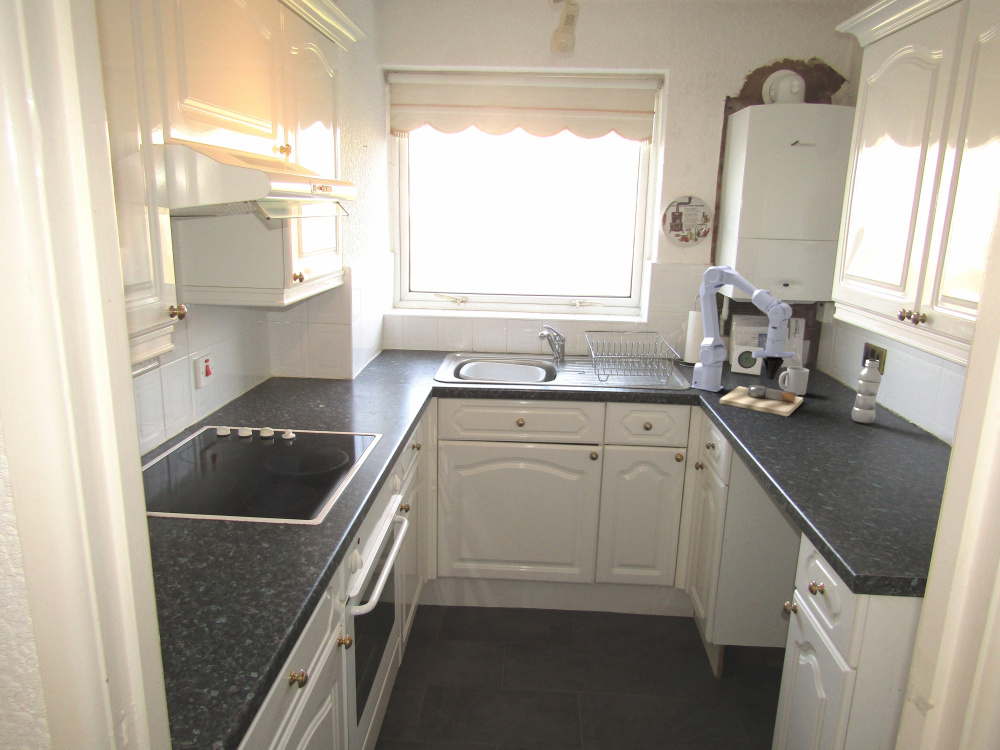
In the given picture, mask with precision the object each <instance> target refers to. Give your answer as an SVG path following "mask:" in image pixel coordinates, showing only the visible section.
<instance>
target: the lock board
mask: <svg viewBox="0 0 1000 750" xmlns="http://www.w3.org/2000/svg"><path fill="white" fill-rule="evenodd" d="M748 389H749V387H746V386H741V385H739V386H737V387H735V388H734V389H732V390H731V391H730V392H728V393H727V394H725V395H723V396H722V397H721V398H719V401H718V402H719V404H721V405H727V406H731V407H736V408H741V409H742V408H743V409H747V410H751V411H757V412H763V413H766V414H767V413H768V414H773V415H776V416H782V417H787V416H788V417H789V416H790V415H791V414H792V413H793V412H794V411H795V410H796V409H797V408H799V406H800V405H801V404H802V403H803V402H804V397H802V396H797V395H796V396H795V402H794V403H792V402H786V401H780V400H774V399H768V398H754V397H750V396H748Z"/></svg>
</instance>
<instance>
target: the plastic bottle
mask: <svg viewBox="0 0 1000 750" xmlns="http://www.w3.org/2000/svg"><path fill="white" fill-rule="evenodd" d="M864 366H865V367H863V368H862V369H861V370H860V371H859V373H858V375H857V388H856V389H857V391H856V397H855V401H854V404H853V405H854V406H853V407H852V410H851V419H852V420H853V421H855V422H857V423H860V424H861V423H862V424H871V423H873V422H874V421H875V419H876V404H877V403H876V401H877V400H876V399H877V395H878V391H879V388H880V385H881V383H882V382H881V381H882V375H881V373H880V371H879V369H878V368H879V367H880V360H877V359H872V358H871V359H870V358H868V359H866V360H865V362H864Z"/></svg>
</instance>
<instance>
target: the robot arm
mask: <svg viewBox="0 0 1000 750" xmlns="http://www.w3.org/2000/svg"><path fill="white" fill-rule="evenodd" d="M702 273H703V274H702V281H701V283H700V286H699V299H700V300H699V302H700V313H701V323H702V331H703V340H702V341H701V344H700V352H699V353H698V356H699V360H700V362H696V363H695V364H694V367H693V372H692V373H693V375H692V383H691V385H690V386H691V388H692V389H693V388H694V389H697V390H702V391H703V390H704V391H709V392H715V393H718V392H720V391H721V390H722V389H724V386H721V379H722V371H723V364H724V363H723V362H724V361H725V360H727V356H728V350H727V349H726V346H725V342H724V340H723V339H722V338H721V336H720V326H719V315H718V304H717V296H716V295H717V293H718V291H719V290H720V289H721V288H722V287H725V285H731V286H733V287H735V288H737V289H738V290H740V291H741V292H743V293H744V294H746V295H747V296H749V297H750V299H751V303H752V304H753V305H754V306H756V307H757V308H758V309H760V310H761V311H763V312H764V313H765V314H767V318H768V319H769V323H768V329H767V335H766V336H767V337H766V342H765V343H766V344H765V350H758V351H757V350H753V351H752V352H751V358H752V359H759V358H761V359H762V361H763V363H764V366H765V367H764V368H765V371H766V378H767V379H768V380H774V379H775V378H776V377H775V376H776V374H777V373H778V371H779V369H780V367H781V366H782V365H783V364H784V359H791V360H796V356H797V353H796V352H793V351H785V343H786V337H787V332H788V331H787V330H788V323H789V319H790V318H791V317H792V315H793V308H792V306H791V305H790V304H789V303H787V302H782V299H780V298H776V297H774V296H773V294H771V291H770V289H764V288H763V289H758V288H757V287H755V286H754V284H752V283H751V282H750V281H748V280H747V279H746V278H745V277H743V276H742V275H741V274H740V273H739V272H738V270H735V269H734V268H732V267H731V266H729V265H726V264H725V265H719V266H715V265H714V266H710V267H708V268H707V269H706V270H705V271H704V272H702Z"/></svg>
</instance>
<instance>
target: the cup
mask: <svg viewBox="0 0 1000 750" xmlns="http://www.w3.org/2000/svg"><path fill="white" fill-rule="evenodd" d="M809 375H810V370H809V369H808V368H805V367H800V366H789V367H787V370H786V371H782V373H780V375H779V377H778V385H779V386H778V387H780V389H782V390H783V391H787V392H793V393H796V396H798V395H802V396H805V395H806V394H807V387H808V380H809ZM784 379H785V380H784ZM784 381H785V384H784Z"/></svg>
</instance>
